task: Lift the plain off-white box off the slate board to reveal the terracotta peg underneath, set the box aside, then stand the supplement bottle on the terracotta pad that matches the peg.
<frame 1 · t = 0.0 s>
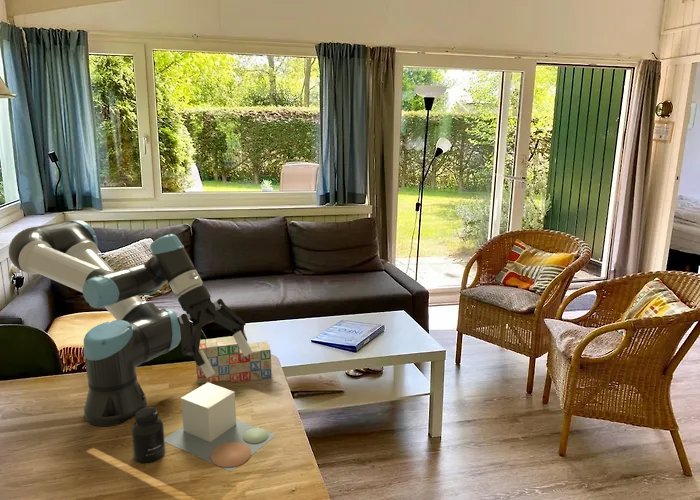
hand: (230, 364, 138), 15 cm above the table, tool tilted 35°, fingers open, 13 cm apart
supplement bottle: (150, 459, 126), on the table
stack of blocks: (234, 378, 163), on the table
board: (219, 442, 132), on the table
plain off-white box: (210, 427, 136), point 1 cm above the table, touching board
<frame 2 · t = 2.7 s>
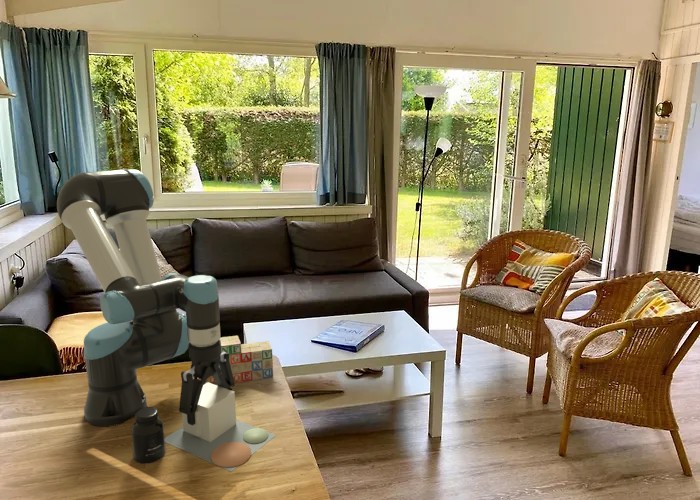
hand: (209, 424, 136), 2 cm above the table, tool pointing down, fingers closed on plain off-white box, 9 cm apart
plain off-white box: (210, 427, 136), point 1 cm above the table, touching board, gripper
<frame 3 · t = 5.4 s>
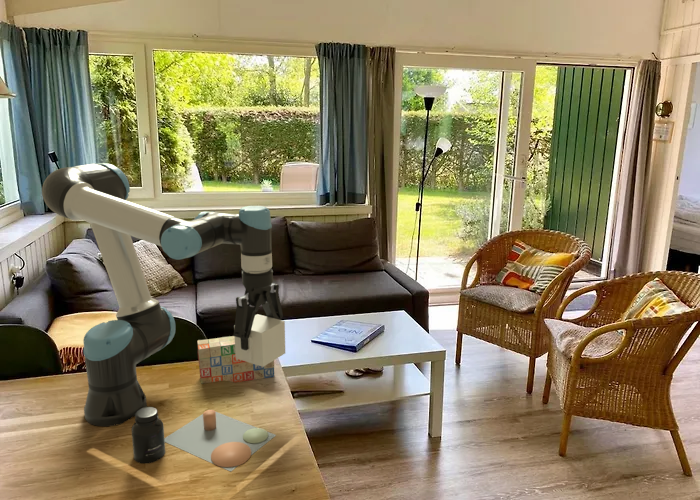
hand: (260, 352, 141), 17 cm above the table, tool pointing down, fingers closed on plain off-white box, 9 cm apart
plain off-white box: (260, 355, 141), point 16 cm above the table, touching gripper
when the fingers open (2 cm above the table, at t = 8.0 s): plain off-white box drops 2 cm, on the table.
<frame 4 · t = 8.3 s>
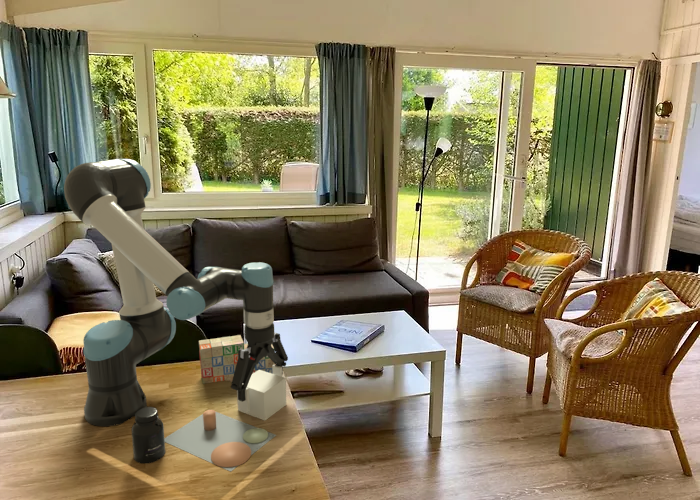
hand: (261, 398, 145), 4 cm above the table, tool pointing down, fingers open, 13 cm apart
plain off-white box: (262, 411, 145), on the table
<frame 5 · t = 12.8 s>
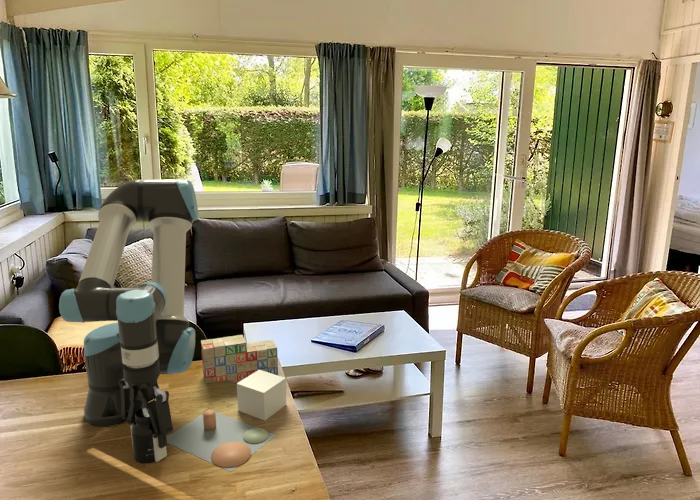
hand: (149, 452, 125), 2 cm above the table, tool pointing down, fingers closed on supplement bottle, 7 cm apart
supplement bottle: (150, 459, 126), on the table, touching gripper
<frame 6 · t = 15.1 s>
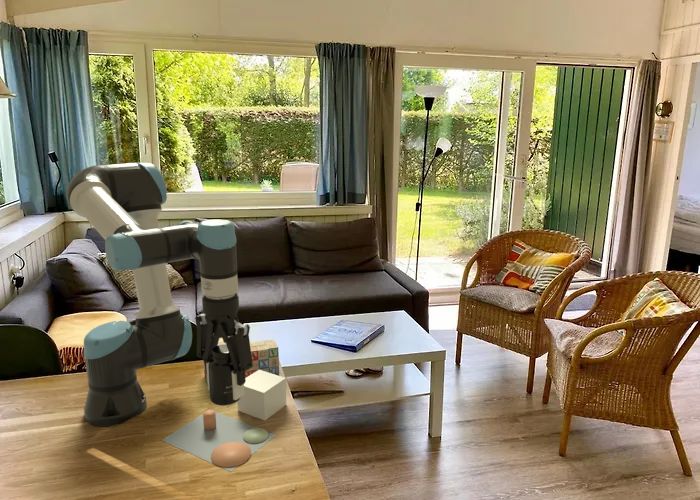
hand: (226, 392, 121), 17 cm above the table, tool pointing down, fingers closed on supplement bottle, 7 cm apart
supplement bottle: (226, 399, 121), point 16 cm above the table, touching gripper
when the fingers open (4 cm above the table, at t = 17.8 s): supplement bottle drops 1 cm, resting on board.
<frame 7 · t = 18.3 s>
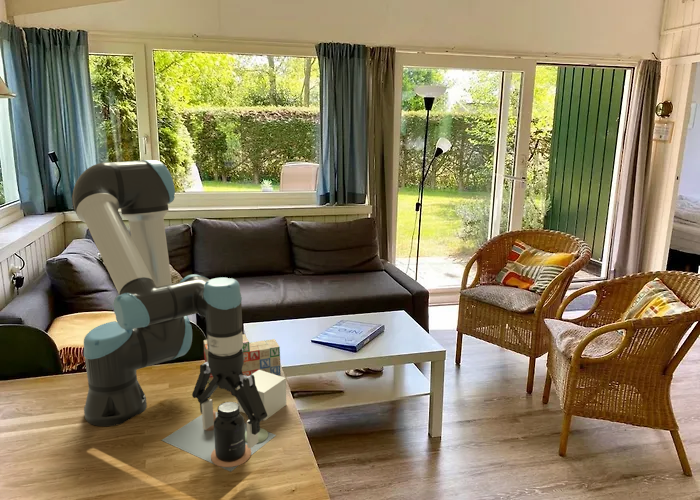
hand: (230, 435, 124), 6 cm above the table, tool pointing down, fingers open, 13 cm apart
supplement bottle: (231, 454, 125), point 1 cm above the table, touching board
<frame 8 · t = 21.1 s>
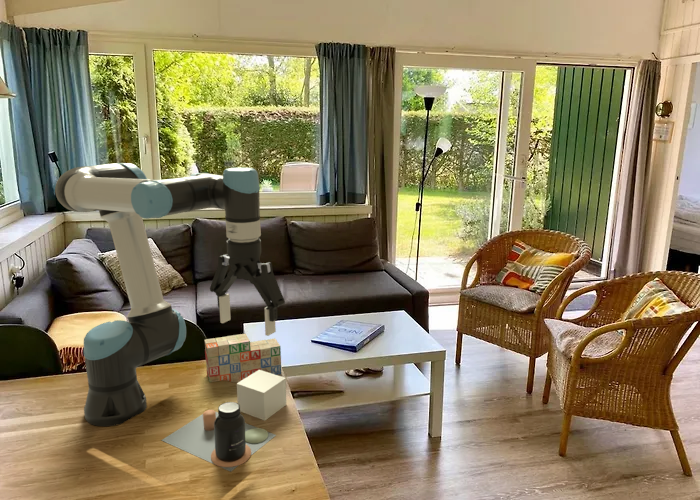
hand: (247, 327, 127), 29 cm above the table, tool pointing down, fingers open, 13 cm apart
at the end: supplement bottle inside the target area (0.1 cm from its centre), point 1.3 cm above the table; supplement bottle tilted 1°; plain off-white box moved 14.9 cm from its start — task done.
